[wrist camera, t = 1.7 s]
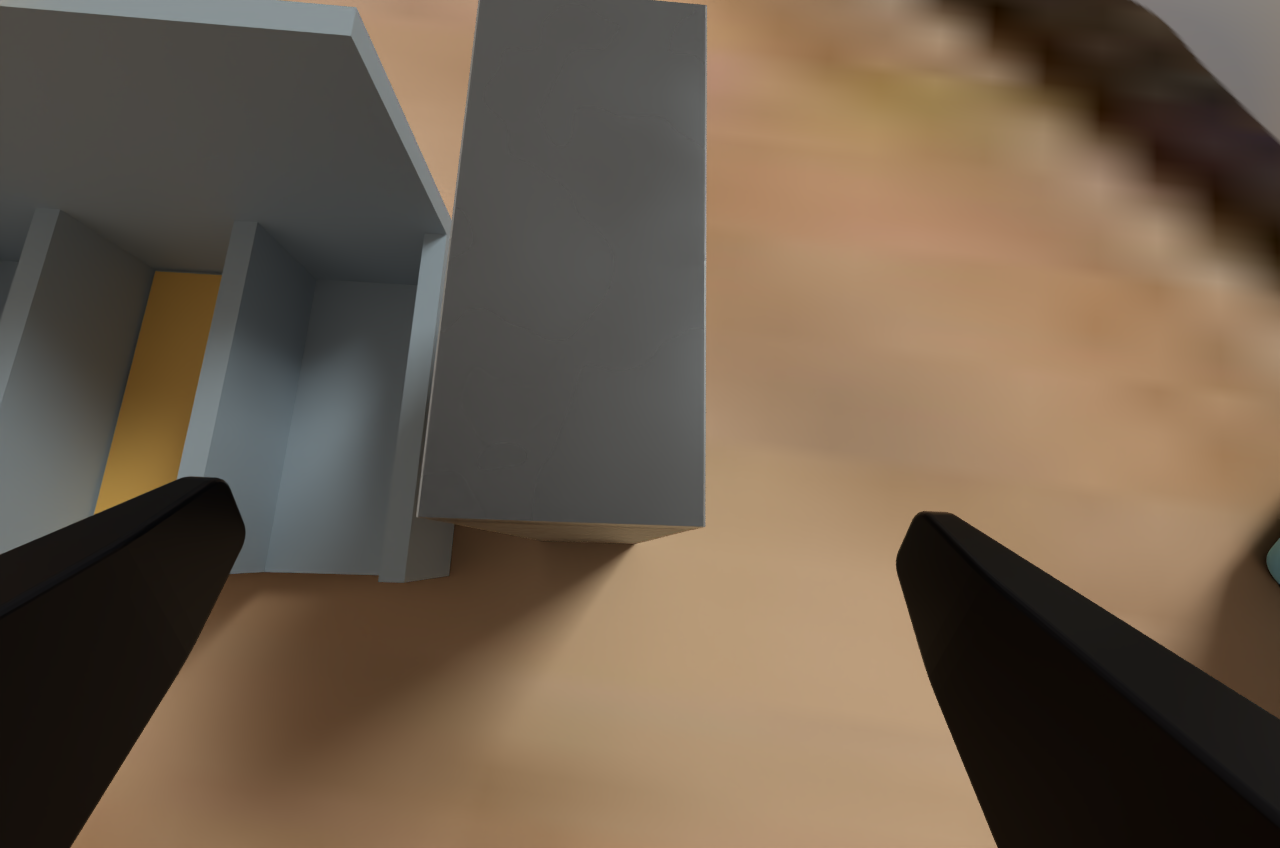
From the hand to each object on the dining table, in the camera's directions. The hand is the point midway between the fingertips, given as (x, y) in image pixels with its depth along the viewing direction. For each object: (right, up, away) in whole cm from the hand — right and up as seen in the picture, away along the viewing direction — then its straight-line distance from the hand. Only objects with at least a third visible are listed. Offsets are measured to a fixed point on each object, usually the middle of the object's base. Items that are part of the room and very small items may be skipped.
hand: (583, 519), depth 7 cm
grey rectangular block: (-1, +1, +11) cm, 11 cm away
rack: (-13, +1, +10) cm, 16 cm away
